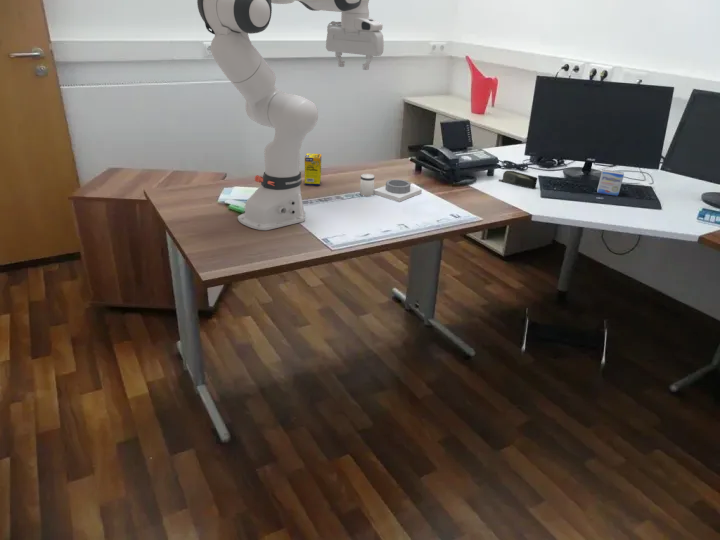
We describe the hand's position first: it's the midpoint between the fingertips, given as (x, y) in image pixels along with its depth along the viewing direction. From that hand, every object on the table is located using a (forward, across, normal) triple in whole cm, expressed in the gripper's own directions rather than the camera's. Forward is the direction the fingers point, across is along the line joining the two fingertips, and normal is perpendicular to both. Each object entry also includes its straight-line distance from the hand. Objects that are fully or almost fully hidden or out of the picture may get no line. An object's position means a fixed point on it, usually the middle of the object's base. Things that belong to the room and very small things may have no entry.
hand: (353, 68), depth 184 cm
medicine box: (+44, +82, +62) cm, 112 cm away
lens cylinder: (+44, +6, +3) cm, 44 cm away
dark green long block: (+44, +49, +50) cm, 83 cm away
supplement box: (+44, -17, +2) cm, 47 cm away
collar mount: (+44, +15, +11) cm, 48 cm away
